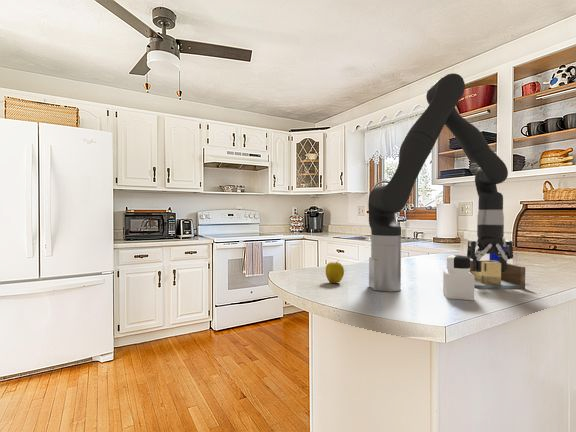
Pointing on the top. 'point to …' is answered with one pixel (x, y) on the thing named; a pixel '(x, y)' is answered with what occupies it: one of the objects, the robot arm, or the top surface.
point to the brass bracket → (488, 273)
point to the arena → (504, 277)
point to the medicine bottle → (458, 278)
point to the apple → (334, 272)
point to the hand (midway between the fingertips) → (489, 271)
